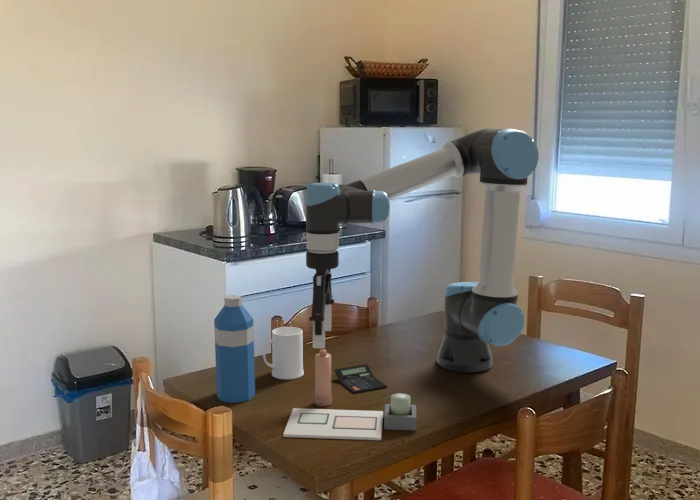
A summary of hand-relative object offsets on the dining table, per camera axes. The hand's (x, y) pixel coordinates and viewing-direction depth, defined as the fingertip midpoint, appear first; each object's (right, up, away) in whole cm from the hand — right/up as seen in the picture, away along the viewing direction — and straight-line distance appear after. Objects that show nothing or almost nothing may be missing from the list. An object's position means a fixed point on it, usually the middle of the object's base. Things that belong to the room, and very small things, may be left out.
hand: (322, 339), depth 169 cm
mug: (-11, -13, +22) cm, 27 cm away
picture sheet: (+3, -18, -9) cm, 20 cm away
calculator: (+9, -14, +16) cm, 23 cm away
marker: (0, -16, +3) cm, 16 cm away
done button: (+18, -16, -9) cm, 25 cm away
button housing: (+18, -18, -8) cm, 27 cm away
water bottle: (-22, -15, +8) cm, 27 cm away
